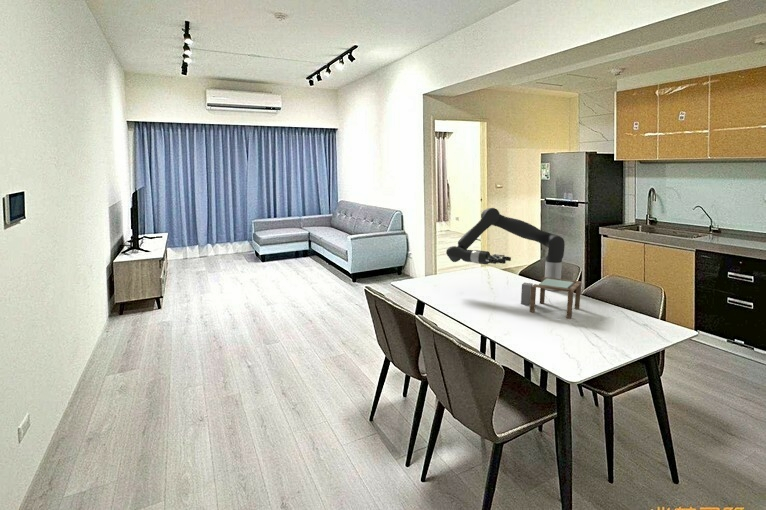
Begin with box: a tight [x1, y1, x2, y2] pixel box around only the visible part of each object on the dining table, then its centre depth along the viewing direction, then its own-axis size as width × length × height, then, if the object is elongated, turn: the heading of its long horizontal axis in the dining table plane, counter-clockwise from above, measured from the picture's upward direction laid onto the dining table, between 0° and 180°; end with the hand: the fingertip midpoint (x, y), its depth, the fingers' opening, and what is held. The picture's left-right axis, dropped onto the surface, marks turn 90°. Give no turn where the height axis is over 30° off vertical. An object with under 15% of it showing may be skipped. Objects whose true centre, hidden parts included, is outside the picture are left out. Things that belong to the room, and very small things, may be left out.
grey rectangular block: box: [520, 282, 534, 306], centre depth 251 cm, size 4×4×11 cm
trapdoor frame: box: [529, 276, 582, 320], centre depth 238 cm, size 20×20×14 cm
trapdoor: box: [538, 279, 575, 289], centre depth 237 cm, size 14×15×1 cm
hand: (508, 260), depth 254 cm, fingers open, 8 cm apart
